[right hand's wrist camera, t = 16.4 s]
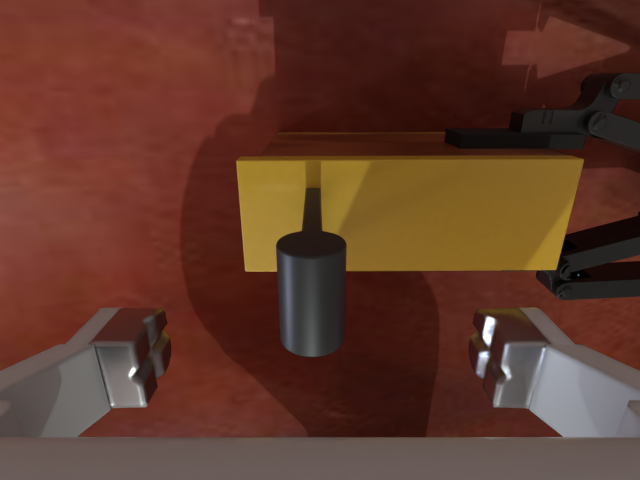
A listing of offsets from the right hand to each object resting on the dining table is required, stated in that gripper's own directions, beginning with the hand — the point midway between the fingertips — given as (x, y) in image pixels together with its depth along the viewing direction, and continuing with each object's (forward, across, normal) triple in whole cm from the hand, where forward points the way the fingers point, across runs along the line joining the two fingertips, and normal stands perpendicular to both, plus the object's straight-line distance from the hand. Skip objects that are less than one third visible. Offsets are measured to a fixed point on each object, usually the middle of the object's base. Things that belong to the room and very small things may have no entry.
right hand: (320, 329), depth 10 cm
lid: (+10, +4, 0) cm, 11 cm away
